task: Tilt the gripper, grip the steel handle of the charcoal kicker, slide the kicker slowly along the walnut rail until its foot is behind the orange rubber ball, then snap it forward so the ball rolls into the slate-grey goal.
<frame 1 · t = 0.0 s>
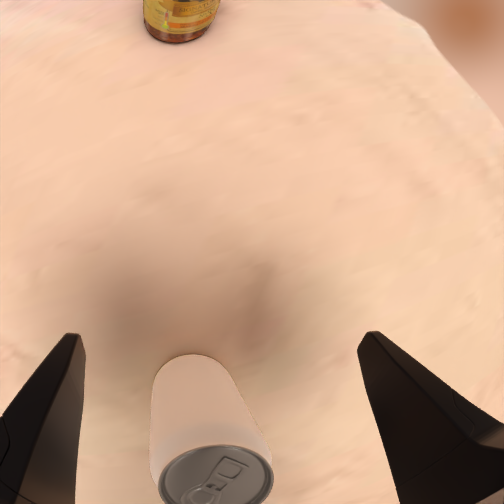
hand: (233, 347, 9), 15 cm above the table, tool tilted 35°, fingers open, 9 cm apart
sauce bottle: (179, 21, 23), on the table
can: (192, 388, 24), on the table
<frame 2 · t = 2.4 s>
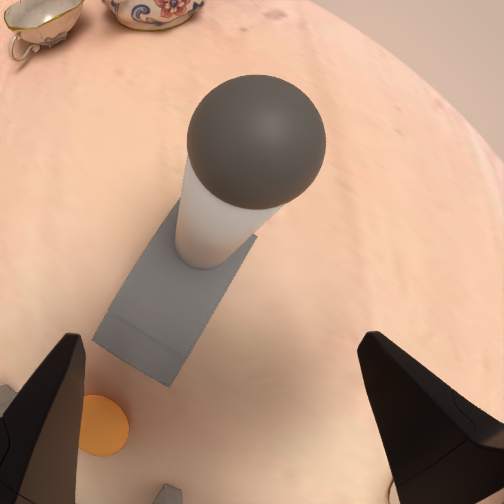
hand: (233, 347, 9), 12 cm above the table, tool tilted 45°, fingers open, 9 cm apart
ball: (97, 425, 16), point 2 cm above the table
chinaware: (134, 3, 25), on the table
goal: (72, 475, 16), on the table
kicker: (178, 277, 13), point 8 cm above the table, slide at 0.0 cm
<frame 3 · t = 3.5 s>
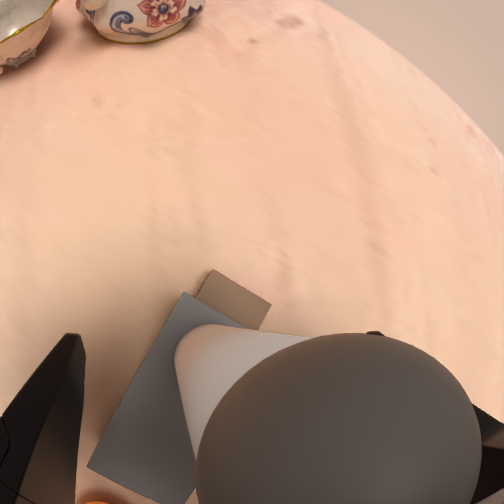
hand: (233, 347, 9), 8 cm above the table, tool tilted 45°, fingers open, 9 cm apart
chinaware: (118, 8, 20), on the table
kicker: (185, 458, 8), point 8 cm above the table, slide at 0.0 cm
rail: (184, 381, 16), on the table
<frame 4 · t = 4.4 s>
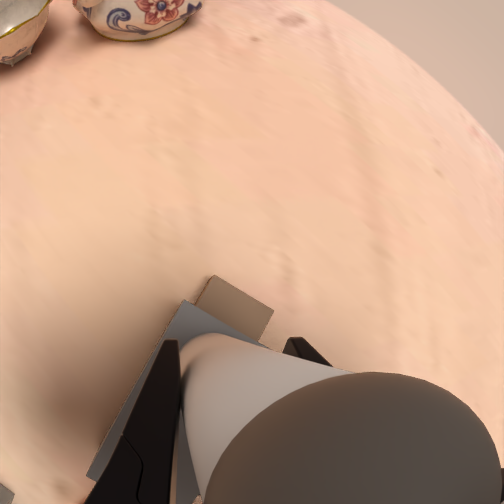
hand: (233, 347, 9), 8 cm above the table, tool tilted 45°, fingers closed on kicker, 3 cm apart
chinaware: (116, 5, 20), on the table
kicker: (187, 474, 8), point 8 cm above the table, slide at 0.0 cm, touching gripper
rail: (184, 389, 16), on the table
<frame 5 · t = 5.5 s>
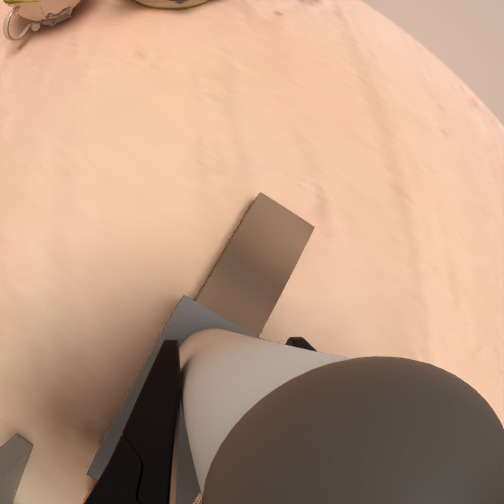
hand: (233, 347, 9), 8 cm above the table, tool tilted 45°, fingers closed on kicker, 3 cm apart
kicker: (188, 470, 8), point 8 cm above the table, slide at 5.0 cm, touching gripper
rail: (229, 306, 17), on the table
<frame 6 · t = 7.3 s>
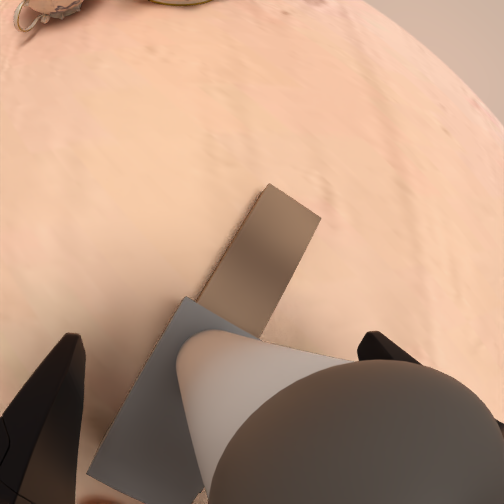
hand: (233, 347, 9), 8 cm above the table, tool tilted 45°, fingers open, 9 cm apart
kicker: (189, 470, 8), point 8 cm above the table, slide at 5.8 cm
rail: (238, 294, 18), on the table
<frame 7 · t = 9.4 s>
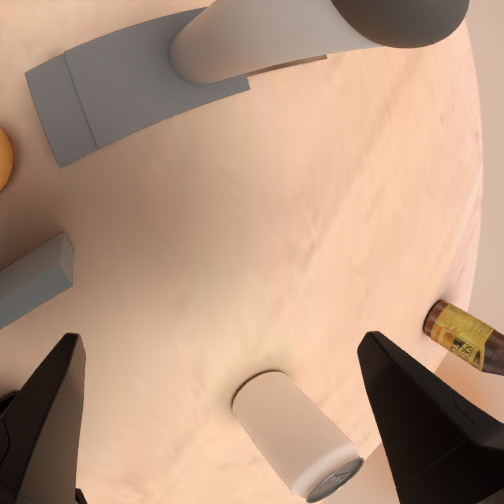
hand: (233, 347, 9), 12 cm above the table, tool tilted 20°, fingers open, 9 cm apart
sauce bottle: (432, 316, 44), on the table
kicker: (166, 49, 8), point 8 cm above the table, slide at 5.8 cm
rail: (235, 52, 17), on the table
can: (259, 393, 30), on the table
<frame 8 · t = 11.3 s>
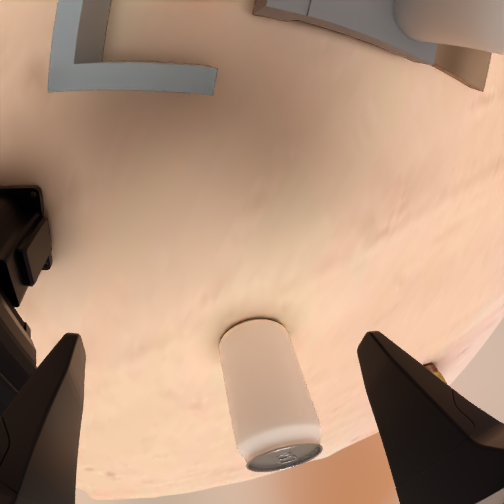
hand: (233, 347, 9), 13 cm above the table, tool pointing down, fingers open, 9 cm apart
rail: (424, 37, 16), on the table
can: (252, 338, 29), on the table
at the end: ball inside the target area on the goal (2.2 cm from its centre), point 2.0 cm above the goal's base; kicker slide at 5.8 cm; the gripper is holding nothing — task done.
